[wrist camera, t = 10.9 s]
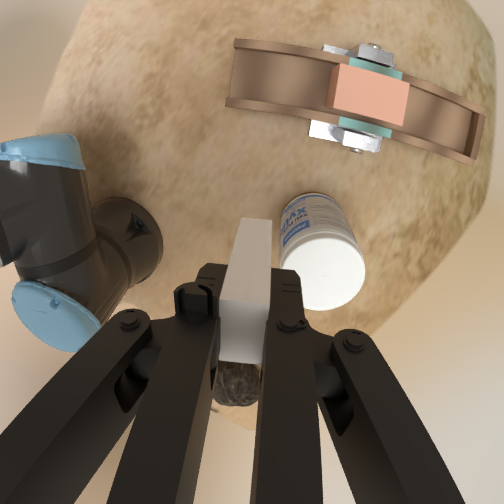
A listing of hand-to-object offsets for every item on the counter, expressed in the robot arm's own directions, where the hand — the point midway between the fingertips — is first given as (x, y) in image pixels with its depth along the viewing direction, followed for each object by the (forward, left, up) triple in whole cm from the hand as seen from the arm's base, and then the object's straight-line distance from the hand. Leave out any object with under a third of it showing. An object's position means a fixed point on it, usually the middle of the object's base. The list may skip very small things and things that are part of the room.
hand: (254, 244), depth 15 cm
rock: (0, -43, -29) cm, 52 cm away
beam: (+10, +10, -27) cm, 30 cm away
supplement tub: (+8, -9, -29) cm, 31 cm away
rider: (+9, +10, -21) cm, 24 cm away
